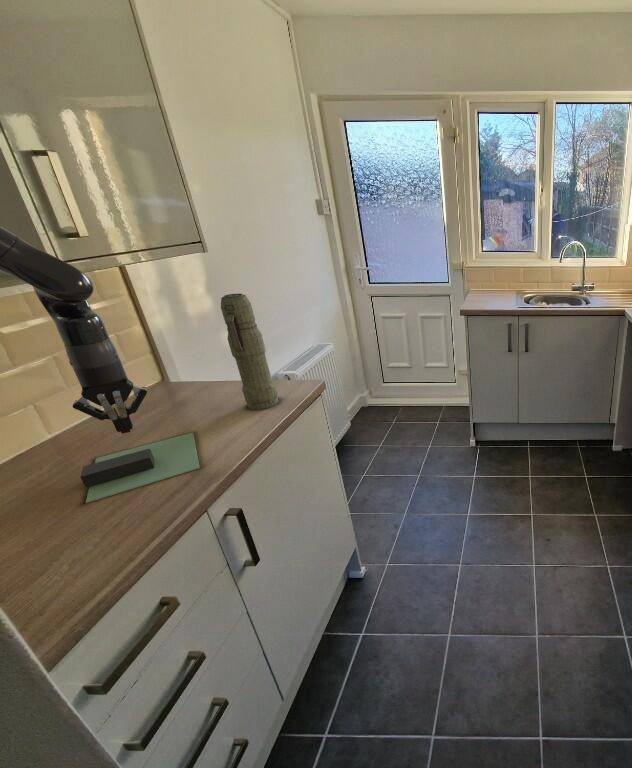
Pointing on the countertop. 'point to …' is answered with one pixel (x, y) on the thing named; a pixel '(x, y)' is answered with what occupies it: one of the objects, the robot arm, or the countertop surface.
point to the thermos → (248, 352)
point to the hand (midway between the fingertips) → (126, 431)
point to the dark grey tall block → (117, 467)
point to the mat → (168, 463)
